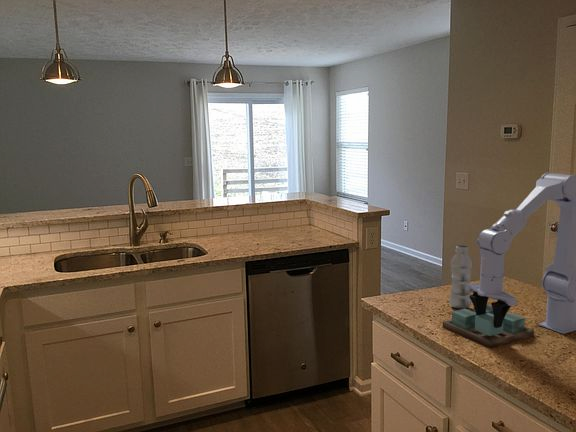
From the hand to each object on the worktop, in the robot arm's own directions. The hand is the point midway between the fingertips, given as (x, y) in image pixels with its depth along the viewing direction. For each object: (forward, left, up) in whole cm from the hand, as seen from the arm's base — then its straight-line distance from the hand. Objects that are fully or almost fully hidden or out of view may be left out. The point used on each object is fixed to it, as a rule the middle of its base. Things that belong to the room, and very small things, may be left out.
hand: (489, 323), depth 138 cm
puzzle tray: (-4, -4, -4) cm, 7 cm away
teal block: (0, 0, -2) cm, 2 cm away
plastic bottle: (-12, -22, -5) cm, 26 cm away
